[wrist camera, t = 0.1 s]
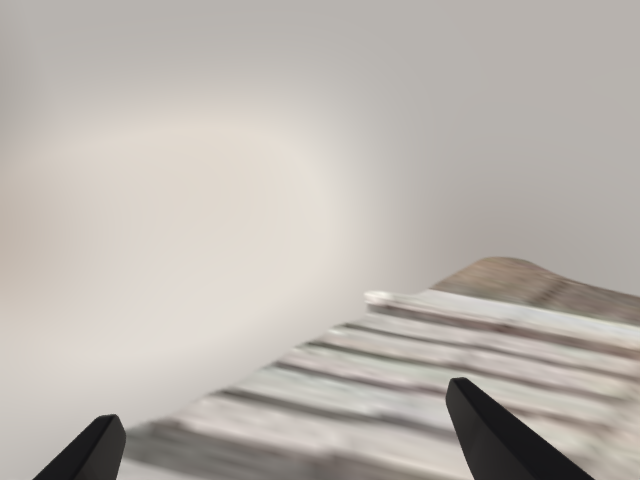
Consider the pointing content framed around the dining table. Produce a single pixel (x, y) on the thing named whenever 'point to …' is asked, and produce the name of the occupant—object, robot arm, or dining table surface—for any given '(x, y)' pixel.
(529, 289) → the dining table surface
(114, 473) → the robot arm
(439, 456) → the dining table surface
